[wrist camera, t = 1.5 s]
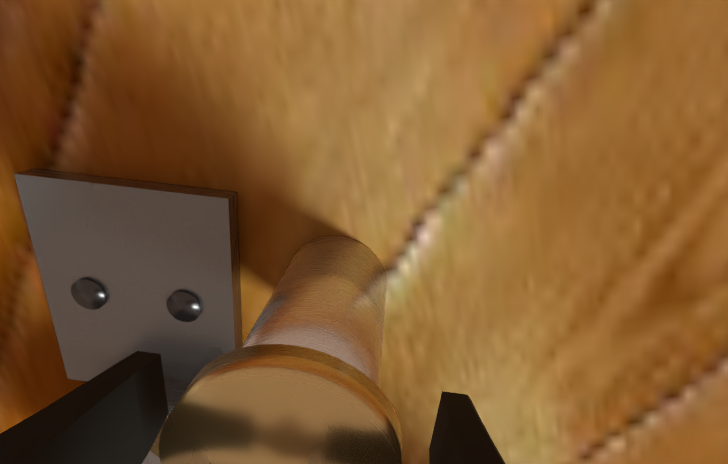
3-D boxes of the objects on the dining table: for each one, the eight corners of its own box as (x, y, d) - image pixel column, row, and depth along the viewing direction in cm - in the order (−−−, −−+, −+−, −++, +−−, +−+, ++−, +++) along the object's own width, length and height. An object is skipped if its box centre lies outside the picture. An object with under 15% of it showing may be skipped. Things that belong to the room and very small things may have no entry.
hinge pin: (410, 229, 15) (419, 399, 7) (393, 342, 17) (387, 566, 9) (273, 213, 15) (144, 361, 7) (273, 326, 17) (171, 532, 9)
